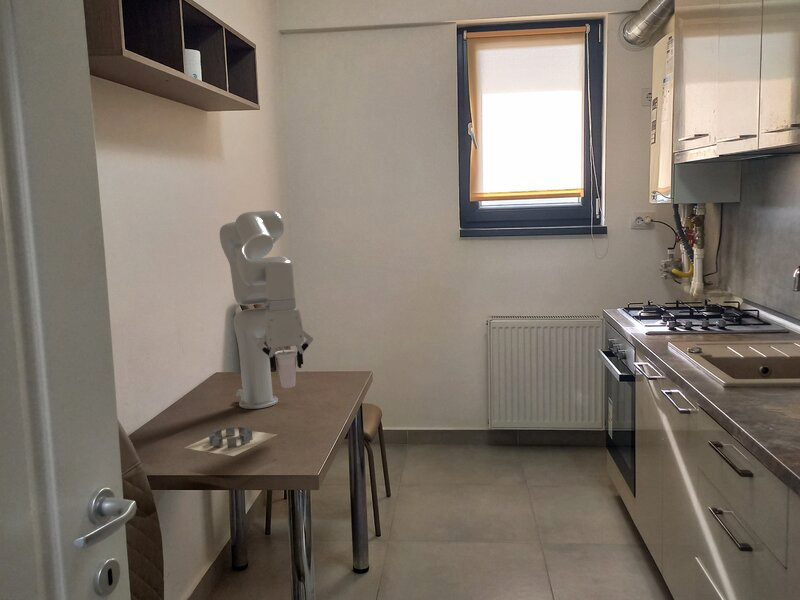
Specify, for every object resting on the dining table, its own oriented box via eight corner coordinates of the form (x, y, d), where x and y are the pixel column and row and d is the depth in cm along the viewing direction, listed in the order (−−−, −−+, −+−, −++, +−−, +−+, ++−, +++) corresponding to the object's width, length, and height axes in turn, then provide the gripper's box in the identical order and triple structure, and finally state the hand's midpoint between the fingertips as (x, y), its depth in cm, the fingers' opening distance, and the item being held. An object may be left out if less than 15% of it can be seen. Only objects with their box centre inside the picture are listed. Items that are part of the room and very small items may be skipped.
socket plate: (183, 453, 202) (183, 448, 202) (229, 432, 217) (229, 427, 217) (234, 461, 193) (233, 456, 193) (278, 439, 208) (277, 434, 208)
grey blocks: (201, 445, 203) (200, 436, 203) (230, 432, 213) (229, 424, 212) (232, 450, 197) (231, 441, 197) (261, 436, 207) (260, 428, 207)
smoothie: (277, 383, 211) (273, 335, 208) (300, 382, 211) (296, 333, 209) (276, 390, 204) (271, 340, 202) (299, 388, 205) (295, 338, 203)
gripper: (250, 310, 198) (256, 375, 201) (315, 303, 203) (320, 368, 206) (248, 305, 206) (254, 369, 208) (311, 300, 210) (315, 362, 213)
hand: (287, 368), depth 207 cm, fingers closed on smoothie, 6 cm apart
